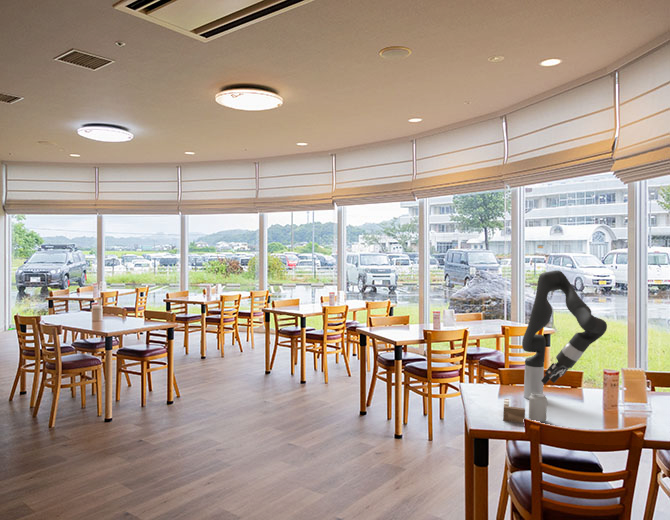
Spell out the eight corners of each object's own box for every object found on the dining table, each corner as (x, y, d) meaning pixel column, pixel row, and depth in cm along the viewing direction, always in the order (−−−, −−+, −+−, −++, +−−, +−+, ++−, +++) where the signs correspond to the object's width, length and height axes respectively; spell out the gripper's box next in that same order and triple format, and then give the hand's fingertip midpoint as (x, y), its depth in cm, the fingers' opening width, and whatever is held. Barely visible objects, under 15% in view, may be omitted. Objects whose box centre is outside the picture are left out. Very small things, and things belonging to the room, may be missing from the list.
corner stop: (504, 411, 240) (504, 397, 240) (524, 413, 237) (524, 399, 237) (503, 420, 227) (503, 406, 227) (524, 423, 224) (525, 408, 224)
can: (525, 417, 232) (526, 391, 232) (541, 417, 233) (542, 391, 233) (533, 423, 225) (534, 396, 224) (549, 423, 225) (550, 396, 225)
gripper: (570, 348, 225) (548, 375, 231) (555, 348, 215) (533, 376, 221) (583, 360, 220) (561, 387, 226) (569, 361, 210) (546, 389, 216)
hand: (547, 382), depth 224 cm, fingers open, 8 cm apart
